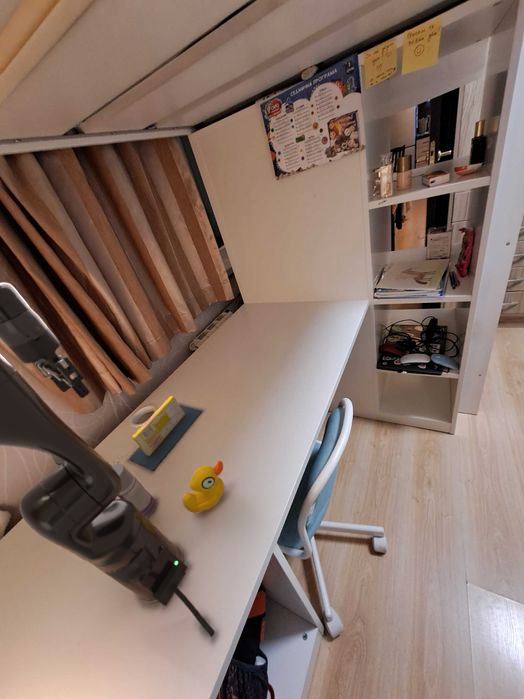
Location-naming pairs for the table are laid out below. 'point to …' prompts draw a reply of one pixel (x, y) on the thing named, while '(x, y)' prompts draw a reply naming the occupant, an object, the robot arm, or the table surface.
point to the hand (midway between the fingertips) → (76, 392)
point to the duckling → (204, 488)
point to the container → (134, 491)
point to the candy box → (158, 426)
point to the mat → (167, 441)
